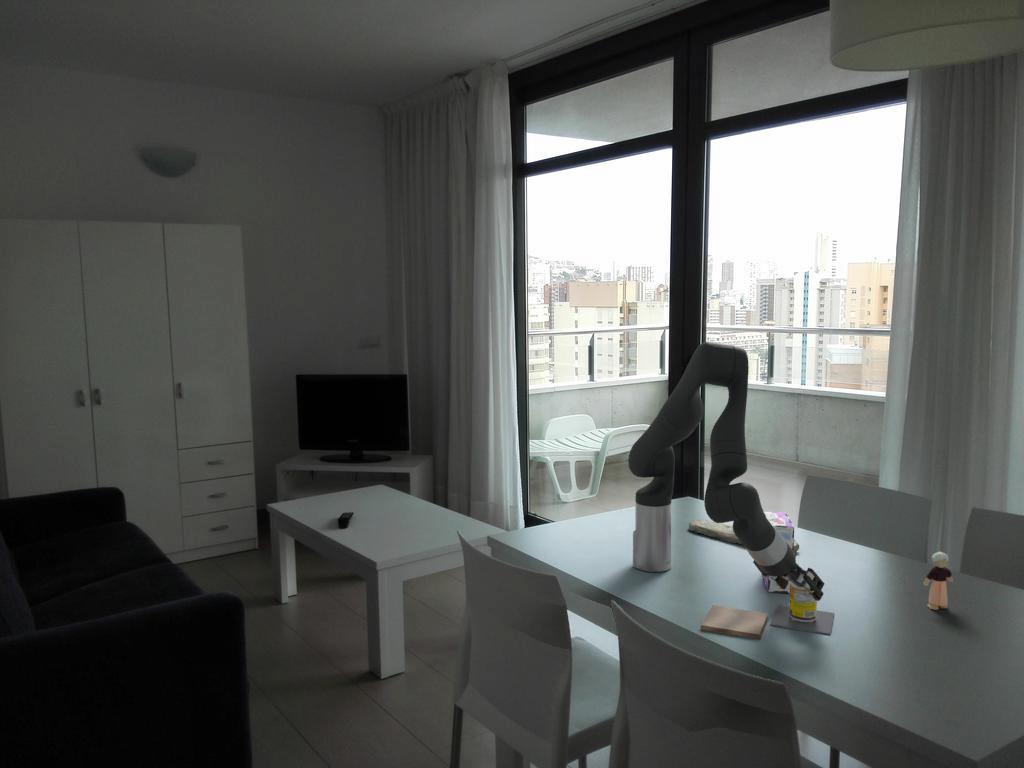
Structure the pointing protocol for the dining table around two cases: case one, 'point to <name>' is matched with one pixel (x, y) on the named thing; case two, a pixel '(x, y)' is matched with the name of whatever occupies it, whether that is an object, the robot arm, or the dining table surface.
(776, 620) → the tile
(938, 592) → the grandmother figurine
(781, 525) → the candy box
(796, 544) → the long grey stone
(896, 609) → the dining table surface
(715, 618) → the walnut board
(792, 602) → the supplement bottle
